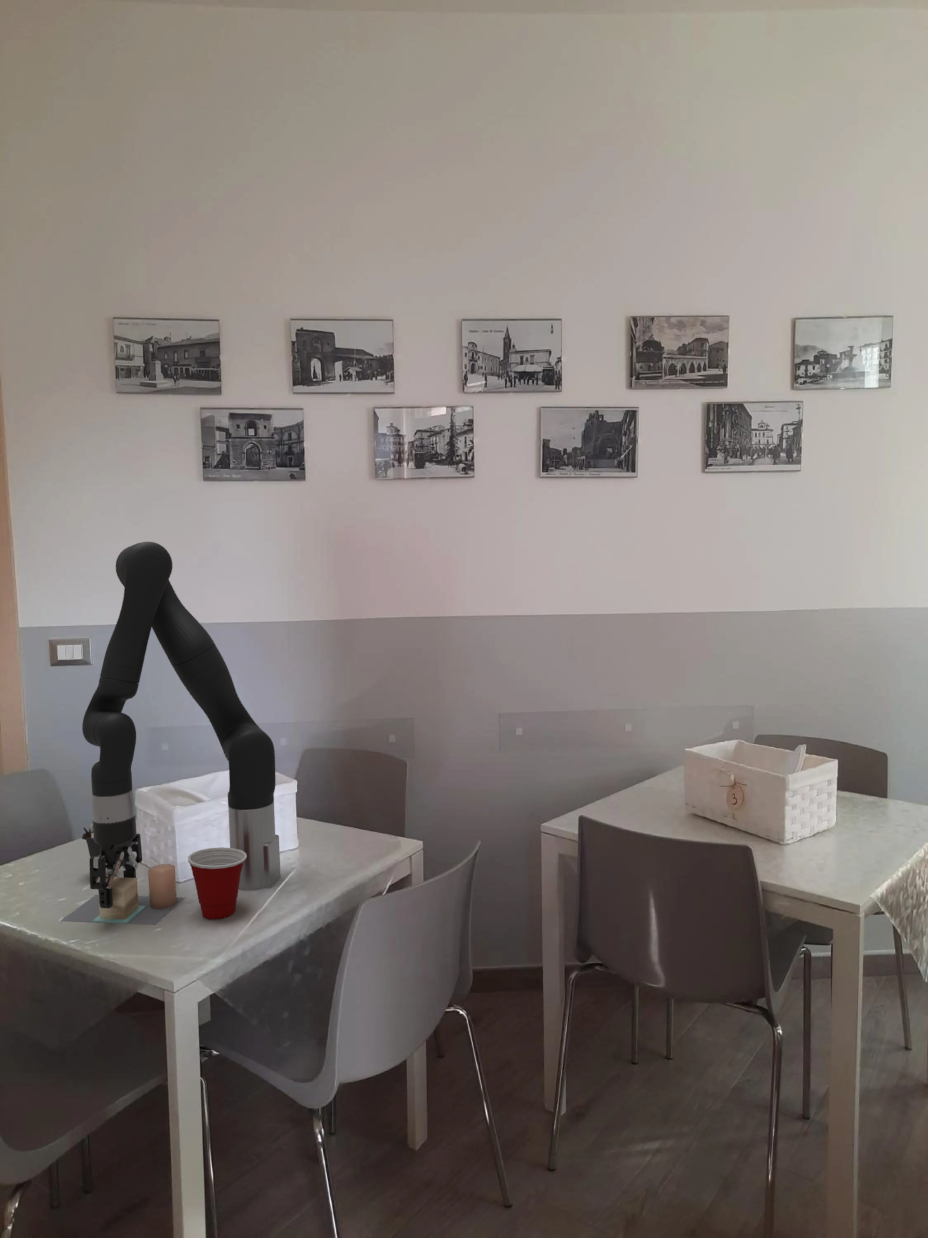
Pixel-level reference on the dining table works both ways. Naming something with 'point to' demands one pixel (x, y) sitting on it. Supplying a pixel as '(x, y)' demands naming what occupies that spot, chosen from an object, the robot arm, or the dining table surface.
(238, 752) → the robot arm
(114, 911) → the beech block
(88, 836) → the sundae
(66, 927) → the dining table surface
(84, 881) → the dining table surface
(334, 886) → the dining table surface
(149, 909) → the slate mat
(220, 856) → the plastic cup
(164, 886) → the terracotta cylinder
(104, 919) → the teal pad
